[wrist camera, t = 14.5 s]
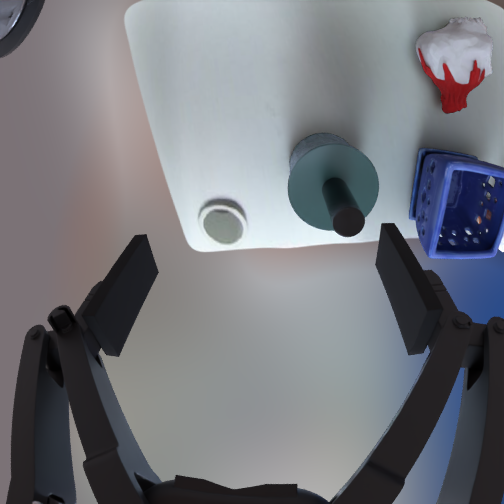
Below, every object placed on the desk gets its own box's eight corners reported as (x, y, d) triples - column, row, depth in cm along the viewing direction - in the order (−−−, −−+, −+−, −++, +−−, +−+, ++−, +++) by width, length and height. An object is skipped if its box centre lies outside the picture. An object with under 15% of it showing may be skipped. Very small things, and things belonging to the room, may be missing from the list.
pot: (290, 198, 43) (292, 225, 36) (287, 133, 38) (290, 147, 30) (355, 197, 42) (369, 223, 35) (357, 133, 36) (375, 147, 29)
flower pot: (476, 147, 34) (522, 174, 24) (461, 221, 41) (496, 260, 31) (407, 136, 35) (448, 160, 26) (397, 218, 43) (425, 262, 33)
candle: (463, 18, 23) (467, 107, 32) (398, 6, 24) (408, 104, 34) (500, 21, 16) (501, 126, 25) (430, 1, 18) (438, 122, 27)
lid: (289, 227, 36) (290, 272, 29) (285, 142, 31) (287, 166, 23) (372, 225, 35) (393, 268, 28) (378, 142, 30) (410, 167, 22)
